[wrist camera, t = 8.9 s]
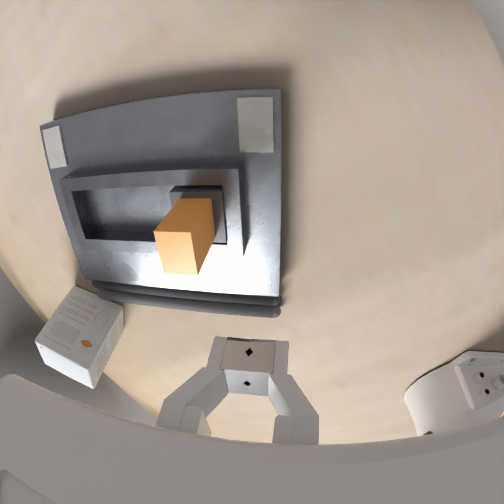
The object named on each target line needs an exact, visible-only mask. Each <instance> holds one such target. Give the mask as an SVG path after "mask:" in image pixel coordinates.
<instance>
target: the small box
mask: <svg viewBox="0 0 504 504" xmlns="http://www.w3.org/2000/svg"><path fill="white" fill-rule="evenodd" d="M123 331H124V325H123V306H121V305H119V304H116V303H114V302H112V301H109V300H105V299H100V298H99V297H98V295H95V294H93V293H91V292H88V291H86V290H84V289H82V288H79V287H77V286H73V288H72V289H71V290H70V292H69V293H68V294H67V296H66V297H65V298H64V300H63V301H62V302H61V304H60V305H59V306H58V308H57V309H56V310H55V312H54V313H53V315H52V316H51V317H50V319H49V320H48V322H47V323H46V325H45V326H44V328H43V329H42V330H41V332H40V333H39V335H38V336H37V338H36V339H35V342H36V345H37V347H38V349H39V351H40V354H41V356H42V358H43V360H44V362H45V364H47V365H49V366H50V367H52V368H54V369H56V370H57V371H59V372H61V373H63V374H65V375H67V376H68V377H70V378H72V379H75V380H77V381H78V382H80V383H83V384H84V385H86V386H88V387H90V388H92V389H94V388H95V386H96V384H97V382H98V380H99V378H100V376H101V374H102V372H103V370H104V368H105V366H106V364H107V362H108V360H109V358H110V356H111V354H112V352H113V350H114V348H115V346H116V344H117V343H118V341H119V339H120V337H121V335H122V333H123Z"/></svg>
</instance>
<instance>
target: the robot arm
mask: <svg viewBox="0 0 504 504" xmlns="http://www.w3.org/2000/svg"><path fill="white" fill-rule="evenodd" d="M288 349H289V342H288V341H276V340H259V339H252V340H251V339H241V338H232V337H222V336H216V337H215V338H214V341H213V344H212V348H211V352H210V356H209V359H208V363H207V367H206V368H205V367H203V368H201V369H200V370H199V371H198V372H197V373H196V374H194V375H193V376H192V377H191V378H190V379H188V380H187V381H186V382H185V383H184V384H182V385H181V386H180V387H179V388H178V389H176V390H175V391H174V392H173V393H172V394H170V395H169V396H168V397H167V398H165V399H164V402H163V405H162V408H161V411H160V414H159V417H158V420H157V423H156V426H154V425H150V424H146V423H142V422H139V421H135V420H131V419H128V418H124V417H121V416H117V415H114V414H111V413H108V412H105V411H102V410H99V409H96V408H93V407H90V406H87V405H84V404H82V403H79V402H76V401H74V400H71V399H69V398H66V397H64V396H61V395H59V394H56V393H54V392H51V391H49V390H47V389H45V388H42V387H40V386H38V385H36V384H34V383H32V382H29V381H27V380H25V379H23V378H21V377H19V376H17V375H15V374H9V375H7V376H5V377H3V378H1V379H0V504H504V419H503V418H500V415H501V414H502V412H503V410H504V353H498V352H479V351H467V352H465V353H463V354H462V355H460V356H459V357H457V358H456V359H455V360H453V361H452V362H450V363H448V364H446V365H444V366H442V367H440V368H438V369H436V370H434V371H432V372H430V373H428V374H426V375H425V376H423V377H422V378H420V379H419V380H417V381H416V382H415V383H414V384H412V385H411V386H410V387H409V389H408V390H407V391H406V393H405V395H404V402H405V404H406V405H407V407H408V409H409V411H410V414H411V416H412V419H413V422H414V425H415V428H416V432H417V437H411V438H404V439H396V440H388V441H379V442H368V443H353V444H327V445H318V443H319V415H318V414H317V412H316V411H315V409H314V408H313V407H312V405H311V404H310V402H309V401H308V399H307V398H306V396H305V395H304V394H303V392H302V391H301V389H300V388H299V386H298V385H297V383H296V382H295V380H294V379H293V377H292V376H291V375H288V374H287V367H288ZM228 393H239V394H251V395H261V396H268V397H269V399H270V401H271V403H272V405H273V407H274V409H275V411H276V412H277V414H278V416H277V417H276V418H275V424H274V433H273V441H272V443H262V442H250V441H240V440H232V439H224V438H217V437H211V430H210V428H209V425H208V423H207V420H206V417H207V416H208V415H209V414H210V413H211V412H212V411H213V410H214V409H215V408H216V406H217V405H218V404H219V403H220V402H221V401H222V400H223V399H224V398H225V397H226V396H227V394H228Z"/></svg>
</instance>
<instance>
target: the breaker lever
mask: <svg viewBox="0 0 504 504" xmlns="http://www.w3.org/2000/svg"><path fill="white" fill-rule="evenodd" d="M169 195H170V201H171V207H172V209H171V210H170V211H169V212H168V214H167V215H166V216H165V217H164V219H163V220H162V221H161V223H160V224H159V225H158V226H157V228H156V229H155V230H154V236H155V240H156V244H157V249H158V253H159V257H160V261H161V265H162V269H163V273H164V274H176V275H189V276H198V275H199V273H200V270H201V268H202V266H203V263H204V261H205V259H206V257H207V254H208V252H209V250H210V248H211V246H212V243H213V242H218V243H226V242H227V235H226V224H225V212H224V201H223V189H222V185H179V186H174V187H173V189H172V190H171V191H170V192H169Z"/></svg>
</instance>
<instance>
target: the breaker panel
mask: <svg viewBox="0 0 504 504" xmlns="http://www.w3.org/2000/svg"><path fill="white" fill-rule="evenodd" d="M40 131H41V136H42V141H43V146H44V151H45V155H46V160H47V164H48V168H49V172H50V176H51V180H52V184H53V187H54V191H55V194H56V198H57V201H58V205H59V208H60V211H61V214H62V217H63V220H64V223H65V226H66V229H67V232H68V235H69V238H70V241H71V244H72V246H73V249H74V252H75V254H76V257H77V260H78V262H79V265H80V267H81V270H82V272H83V274H84V277H85V279H91V280H99V281H107V282H116V283H125V284H134V285H143V286H152V287H162V288H173V289H183V290H195V291H206V292H219V293H232V294H246V295H261V296H278V297H279V289H280V268H281V224H282V89H237V90H219V91H206V92H195V93H185V94H177V95H169V96H162V97H155V98H149V99H143V100H137V101H131V102H126V103H121V104H116V105H111V106H107V107H102V108H98V109H94V110H90V111H86V112H82V113H78V114H74V115H71V116H67V117H64V118H60V119H57V120H54V121H51V122H48V123H46V124H43V125H41V126H40ZM179 185H222V189H223V201H224V212H225V224H226V235H227V242H226V243H218V242H213V243H212V246H211V248H210V250H209V252H208V254H207V257H206V259H205V261H204V263H203V266H202V268H201V270H200V273H199V275H198V276H189V275H176V274H164V273H163V269H162V265H161V261H160V257H159V253H158V249H157V244H156V240H155V236H154V230H155V229H156V228H157V226H158V225H159V224H160V223H161V221H162V220H163V219H164V217H165V216H166V215H167V214H168V212H169V211H170V210H171V209H172V207H171V201H170V195H169V192H170V191H171V190H172V189H173V187H174V186H179Z"/></svg>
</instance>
